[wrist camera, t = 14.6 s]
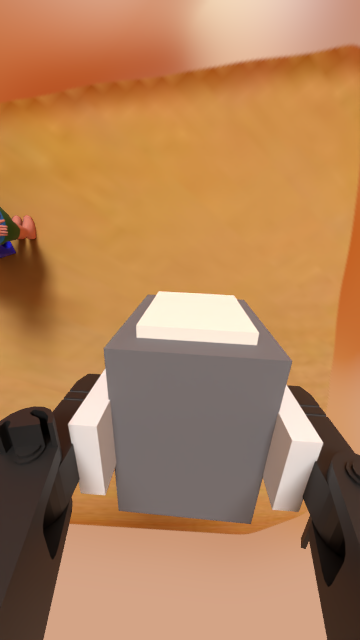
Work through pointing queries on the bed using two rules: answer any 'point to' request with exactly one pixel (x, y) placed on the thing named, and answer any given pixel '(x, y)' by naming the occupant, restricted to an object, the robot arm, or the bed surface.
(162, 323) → the grey rectangular block
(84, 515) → the bed surface
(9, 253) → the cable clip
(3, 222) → the toy character
